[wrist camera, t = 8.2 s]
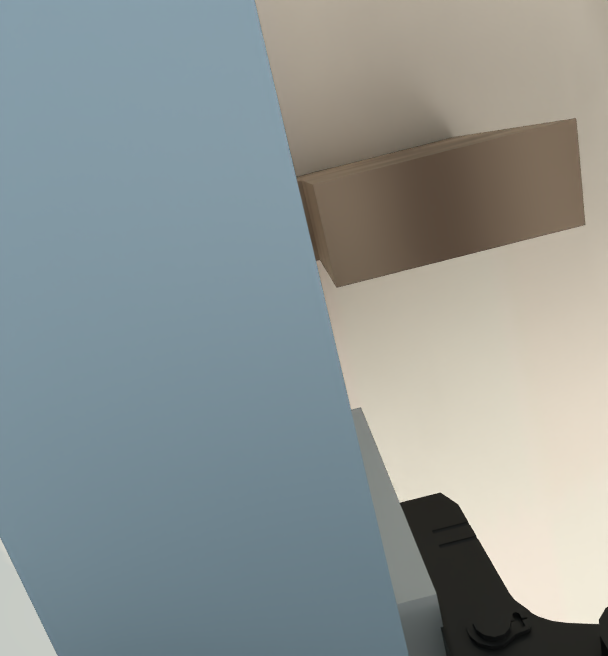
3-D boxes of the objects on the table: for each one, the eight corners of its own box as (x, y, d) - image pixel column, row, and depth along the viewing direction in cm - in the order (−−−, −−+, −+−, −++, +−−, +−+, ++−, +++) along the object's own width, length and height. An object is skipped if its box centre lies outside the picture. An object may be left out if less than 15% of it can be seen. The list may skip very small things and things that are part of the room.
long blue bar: (202, -113, 12) (-80, -1414, 2) (356, 510, 16) (490, 1001, 7) (66, -78, 12) (-855, -1220, 2) (259, 535, 16) (254, 1060, 7)
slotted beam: (455, 136, 25) (576, 118, 15) (464, 202, 26) (585, 225, 16) (25, 245, 25) (-125, 295, 15) (50, 307, 26) (-77, 391, 16)
